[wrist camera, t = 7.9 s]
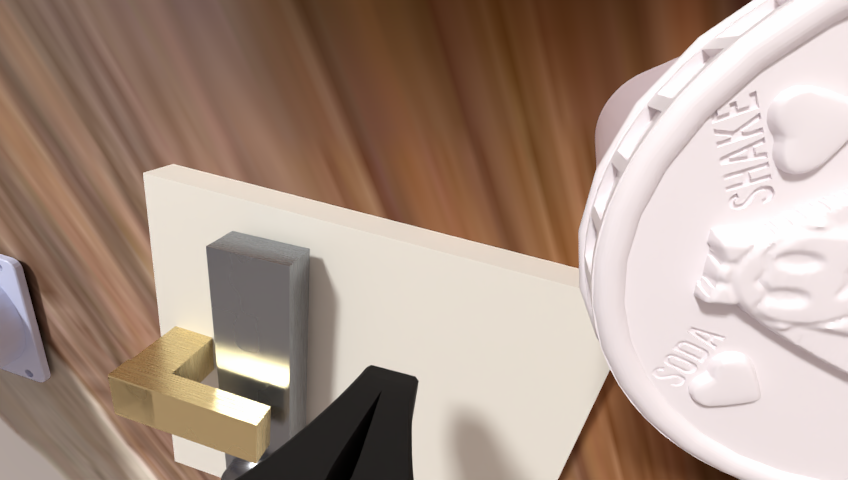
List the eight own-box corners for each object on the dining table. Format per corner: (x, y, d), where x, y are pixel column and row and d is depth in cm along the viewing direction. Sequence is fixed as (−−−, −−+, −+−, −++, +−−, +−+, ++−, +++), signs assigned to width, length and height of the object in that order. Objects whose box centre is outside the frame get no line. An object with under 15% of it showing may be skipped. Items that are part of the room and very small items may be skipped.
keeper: (178, 359, 19) (115, 414, 16) (175, 324, 18) (107, 374, 15) (299, 399, 18) (256, 463, 16) (302, 364, 18) (256, 425, 15)
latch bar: (304, 483, 20) (283, 523, 18) (247, 464, 20) (221, 501, 19) (309, 248, 15) (281, 273, 13) (232, 230, 15) (194, 252, 13)
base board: (194, 438, 24) (172, 464, 22) (173, 164, 17) (138, 174, 16) (510, 549, 21) (508, 586, 20) (630, 282, 15) (642, 307, 13)
